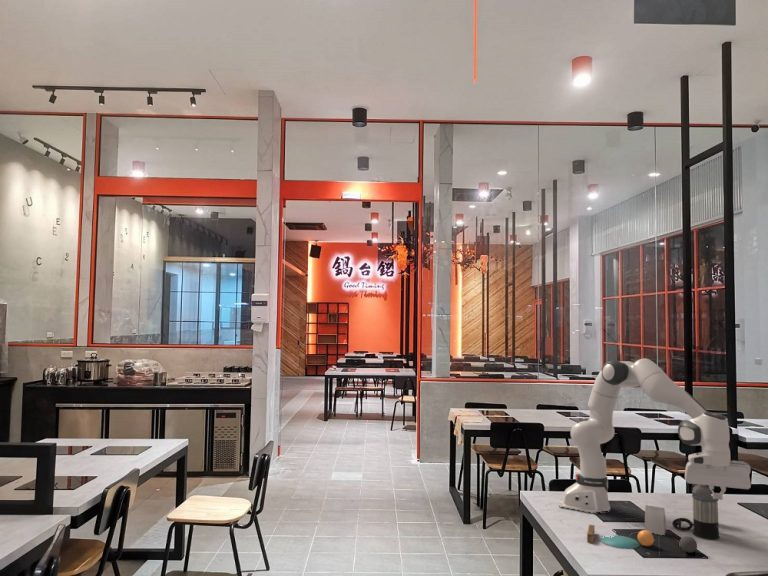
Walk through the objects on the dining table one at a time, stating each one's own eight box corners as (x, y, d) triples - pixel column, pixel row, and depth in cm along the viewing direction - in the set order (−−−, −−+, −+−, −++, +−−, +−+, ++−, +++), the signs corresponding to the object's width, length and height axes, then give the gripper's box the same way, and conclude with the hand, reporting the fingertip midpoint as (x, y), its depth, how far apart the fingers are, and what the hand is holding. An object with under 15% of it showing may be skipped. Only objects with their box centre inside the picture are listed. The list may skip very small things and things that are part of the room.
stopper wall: (587, 542, 210) (587, 534, 211) (589, 532, 221) (589, 524, 222) (593, 543, 210) (592, 534, 210) (594, 533, 221) (594, 525, 221)
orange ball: (637, 547, 207) (637, 531, 207) (637, 542, 212) (637, 527, 212) (654, 549, 205) (654, 533, 205) (653, 544, 210) (653, 529, 210)
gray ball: (680, 553, 201) (680, 537, 202) (679, 548, 206) (679, 532, 207) (698, 556, 199) (697, 539, 200) (696, 550, 204) (696, 535, 205)
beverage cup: (715, 525, 233) (713, 476, 235) (695, 524, 235) (694, 474, 237) (708, 520, 240) (707, 472, 242) (690, 518, 242) (688, 470, 244)
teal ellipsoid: (598, 544, 208) (598, 544, 208) (600, 533, 221) (600, 532, 221) (640, 551, 202) (640, 550, 202) (639, 538, 215) (639, 538, 215)
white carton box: (663, 535, 220) (663, 509, 220) (645, 532, 224) (644, 506, 224) (665, 533, 222) (665, 507, 223) (647, 529, 227) (646, 504, 227)
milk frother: (722, 541, 214) (720, 501, 216) (675, 535, 220) (674, 496, 221) (714, 530, 228) (713, 492, 229) (671, 525, 233) (670, 488, 234)
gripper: (748, 460, 201) (750, 500, 199) (683, 454, 209) (684, 493, 207) (752, 463, 195) (753, 504, 194) (685, 457, 203) (686, 497, 202)
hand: (717, 498), depth 201 cm, fingers closed
